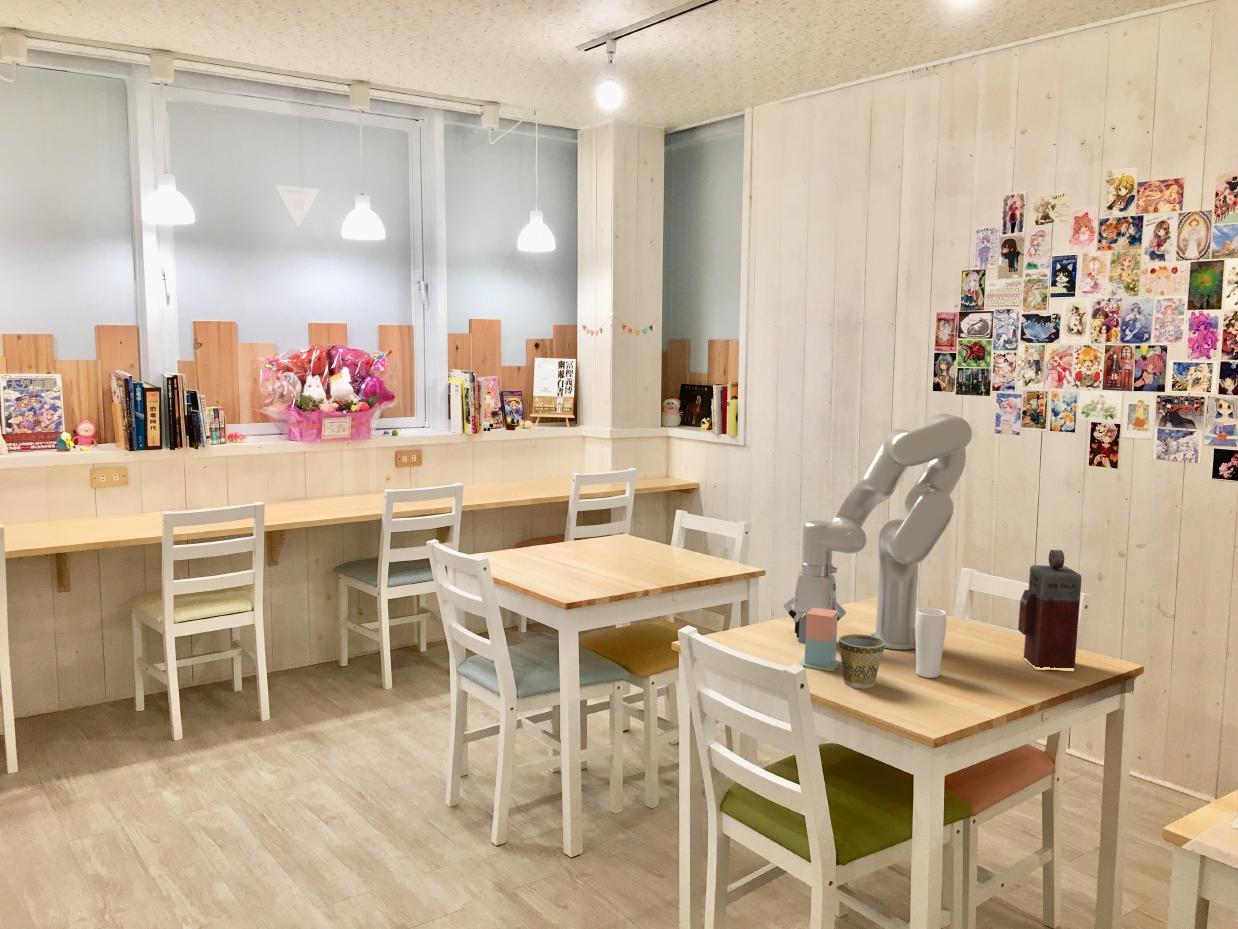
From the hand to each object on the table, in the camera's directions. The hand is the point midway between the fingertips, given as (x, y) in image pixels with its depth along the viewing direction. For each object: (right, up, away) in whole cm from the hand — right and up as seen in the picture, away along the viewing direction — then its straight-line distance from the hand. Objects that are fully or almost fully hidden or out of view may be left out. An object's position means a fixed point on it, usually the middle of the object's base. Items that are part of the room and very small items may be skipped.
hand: (813, 637), depth 253 cm
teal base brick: (-2, -2, -19) cm, 19 cm away
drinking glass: (+21, -4, -25) cm, 33 cm away
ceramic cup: (+5, -5, -30) cm, 31 cm away
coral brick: (-2, +4, -19) cm, 20 cm away
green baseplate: (-2, -3, -19) cm, 19 cm away
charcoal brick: (0, -1, 0) cm, 1 cm away
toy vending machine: (+52, -4, -16) cm, 54 cm away
